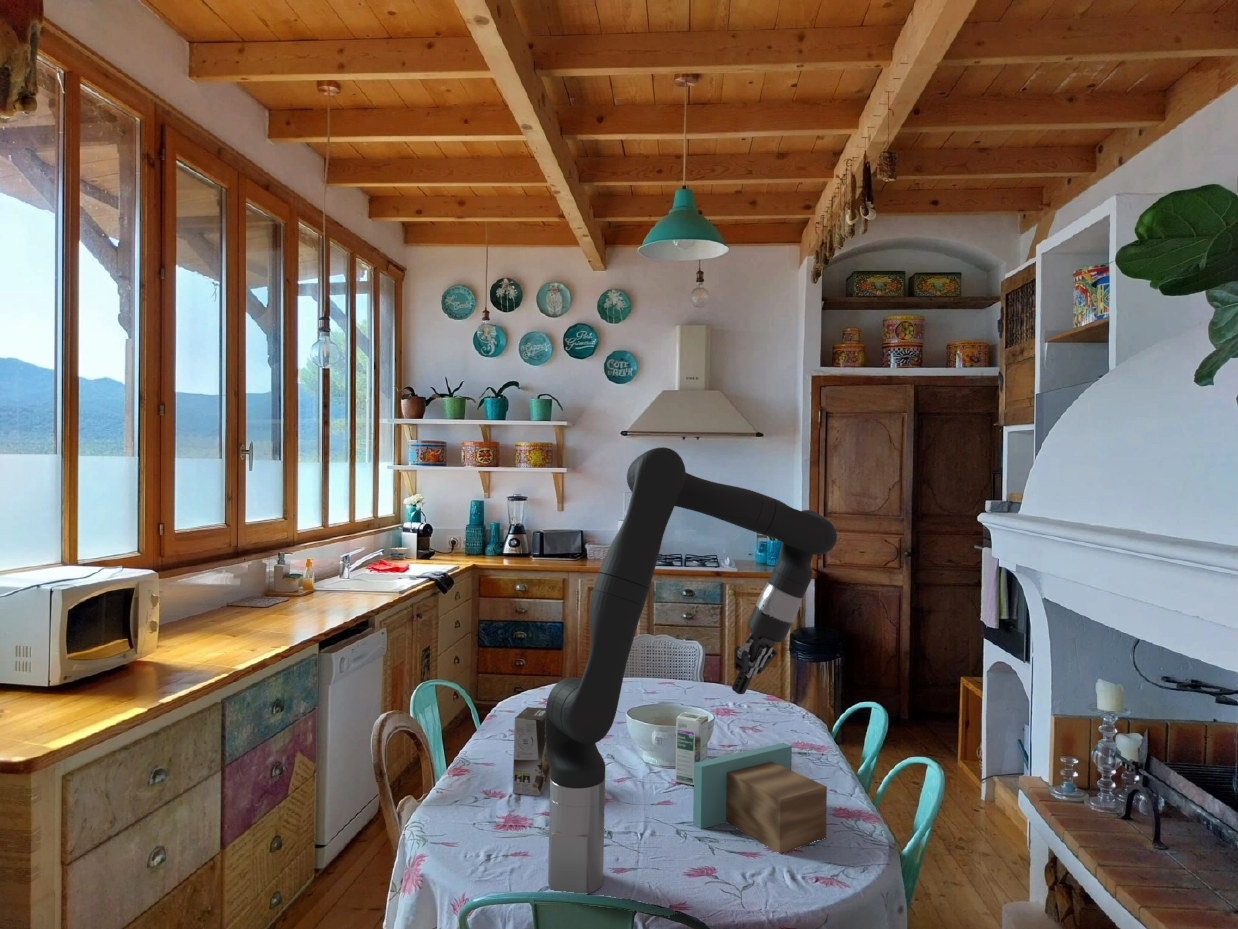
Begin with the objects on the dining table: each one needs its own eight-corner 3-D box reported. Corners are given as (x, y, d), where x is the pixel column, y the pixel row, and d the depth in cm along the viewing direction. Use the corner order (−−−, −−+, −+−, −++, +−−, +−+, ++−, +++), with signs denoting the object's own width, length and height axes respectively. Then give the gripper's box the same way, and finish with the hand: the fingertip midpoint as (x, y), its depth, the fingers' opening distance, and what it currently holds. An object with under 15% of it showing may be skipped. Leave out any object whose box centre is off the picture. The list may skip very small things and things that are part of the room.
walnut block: (826, 839, 147) (826, 786, 147) (779, 855, 141) (780, 799, 141) (770, 810, 160) (771, 761, 160) (725, 823, 154) (726, 772, 154)
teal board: (790, 803, 163) (791, 746, 163) (700, 829, 150) (701, 766, 150) (782, 799, 165) (783, 742, 165) (693, 824, 152) (694, 762, 152)
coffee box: (540, 796, 164) (542, 720, 164) (511, 793, 165) (513, 717, 166) (552, 780, 173) (554, 707, 173) (525, 777, 174) (526, 705, 175)
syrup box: (674, 782, 173) (675, 717, 174) (684, 773, 179) (685, 710, 179) (698, 787, 171) (699, 721, 171) (707, 778, 176) (708, 714, 176)
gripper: (775, 602, 153) (739, 679, 155) (741, 600, 143) (704, 682, 145) (807, 621, 149) (769, 701, 151) (774, 620, 138) (734, 705, 141)
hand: (737, 692), depth 148 cm, fingers closed
